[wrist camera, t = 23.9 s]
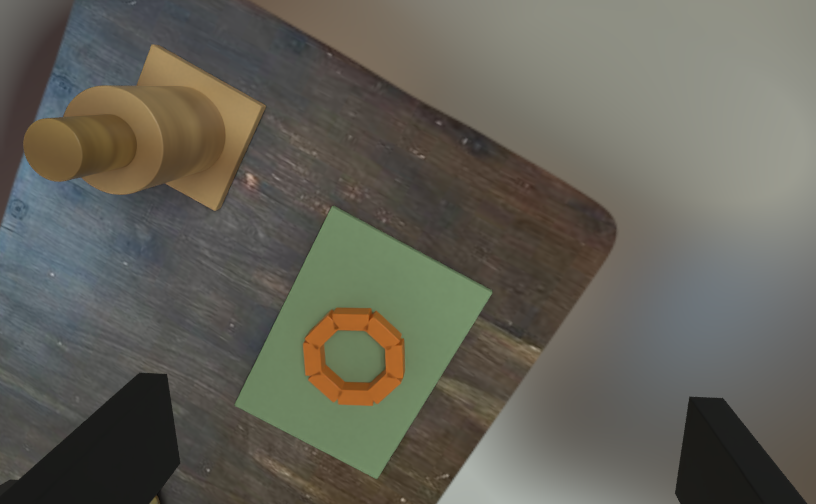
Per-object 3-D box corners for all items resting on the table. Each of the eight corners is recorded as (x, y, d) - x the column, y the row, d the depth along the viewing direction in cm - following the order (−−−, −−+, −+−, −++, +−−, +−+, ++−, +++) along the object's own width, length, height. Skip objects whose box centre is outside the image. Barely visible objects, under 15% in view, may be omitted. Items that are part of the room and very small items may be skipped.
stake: (158, 44, 42) (-4, 22, 28) (266, 105, 42) (161, 115, 28) (118, 152, 44) (-50, 183, 30) (220, 208, 45) (103, 265, 31)
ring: (305, 306, 46) (300, 313, 45) (403, 308, 45) (401, 315, 44) (312, 395, 48) (307, 404, 47) (406, 398, 47) (404, 407, 46)
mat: (333, 205, 44) (331, 206, 43) (492, 290, 44) (492, 292, 44) (236, 402, 50) (233, 405, 49) (377, 475, 50) (377, 479, 50)
